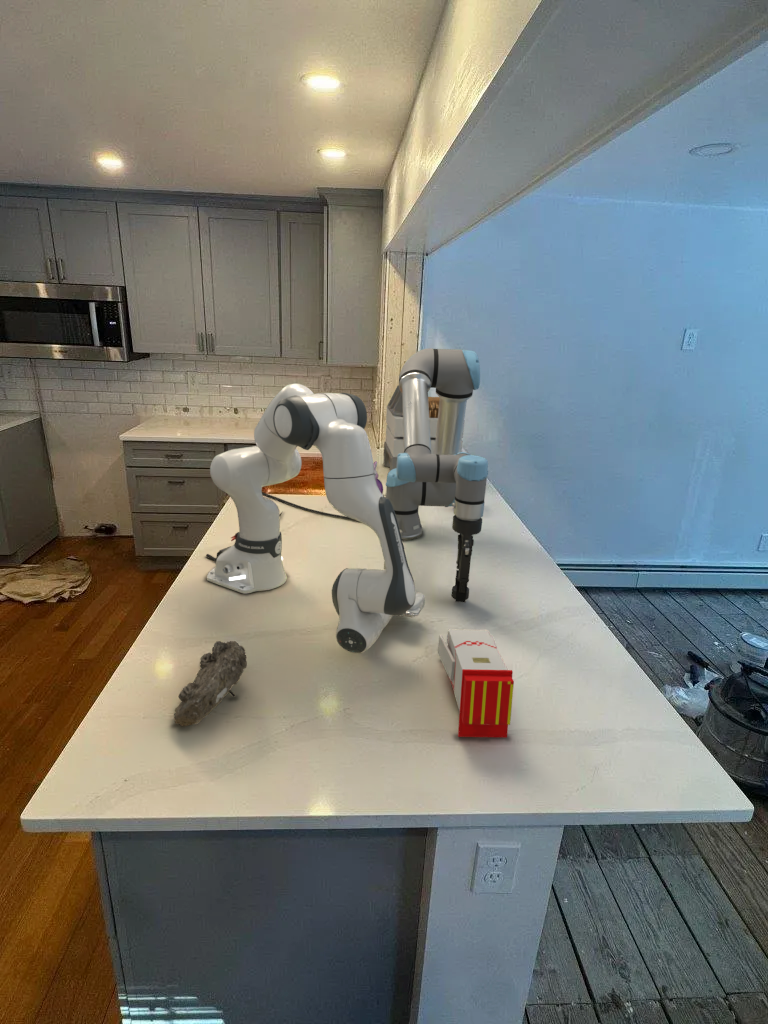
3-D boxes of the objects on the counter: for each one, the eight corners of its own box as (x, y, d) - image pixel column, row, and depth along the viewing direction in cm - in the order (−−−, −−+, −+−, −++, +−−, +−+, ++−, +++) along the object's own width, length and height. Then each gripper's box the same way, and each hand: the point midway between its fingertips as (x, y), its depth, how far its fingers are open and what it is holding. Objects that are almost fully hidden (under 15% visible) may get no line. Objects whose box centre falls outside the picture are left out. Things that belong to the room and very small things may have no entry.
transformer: (382, 463, 289) (386, 382, 275) (445, 464, 293) (451, 384, 279) (390, 482, 257) (394, 392, 243) (460, 483, 261) (468, 394, 247)
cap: (466, 592, 156) (467, 584, 155) (470, 600, 152) (471, 592, 151) (449, 592, 156) (450, 584, 155) (453, 601, 151) (454, 592, 150)
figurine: (368, 501, 231) (369, 466, 226) (357, 494, 239) (358, 459, 234) (388, 499, 235) (390, 464, 230) (377, 492, 244) (378, 458, 239)
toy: (488, 613, 130) (523, 677, 101) (484, 667, 133) (517, 744, 104) (435, 612, 130) (455, 676, 101) (432, 666, 133) (451, 743, 103)
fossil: (197, 643, 123) (246, 611, 118) (228, 672, 126) (277, 642, 121) (151, 720, 104) (207, 686, 99) (188, 752, 107) (245, 721, 102)
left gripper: (417, 605, 133) (432, 580, 145) (337, 589, 139) (358, 566, 151) (416, 628, 135) (430, 602, 147) (337, 611, 141) (357, 587, 154)
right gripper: (452, 504, 154) (445, 581, 162) (454, 527, 138) (446, 611, 146) (479, 506, 154) (471, 583, 162) (485, 529, 137) (476, 614, 145)
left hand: (393, 584), depth 149 cm, fingers closed on bottle, 5 cm apart
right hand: (459, 596), depth 154 cm, fingers closed on cap, 4 cm apart
